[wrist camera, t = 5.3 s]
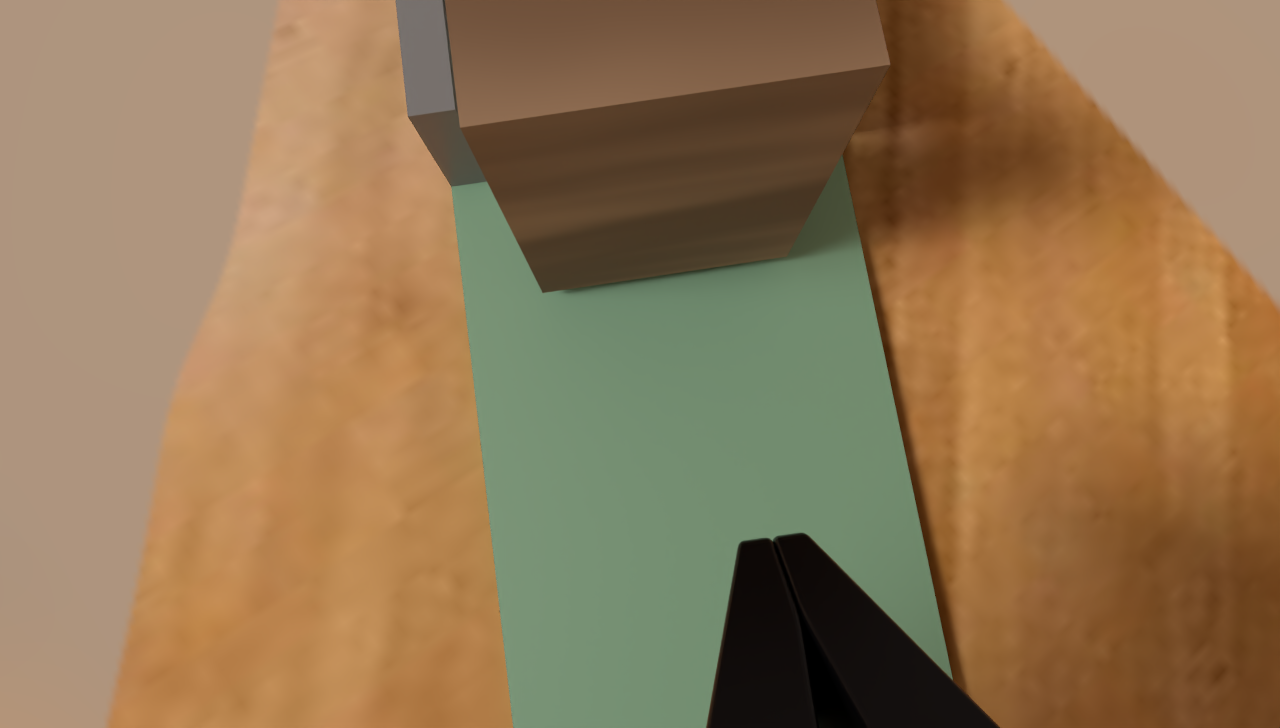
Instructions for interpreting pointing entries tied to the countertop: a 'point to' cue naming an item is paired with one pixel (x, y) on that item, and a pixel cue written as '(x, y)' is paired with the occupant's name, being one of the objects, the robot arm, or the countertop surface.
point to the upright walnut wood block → (659, 124)
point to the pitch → (677, 459)
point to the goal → (434, 88)
